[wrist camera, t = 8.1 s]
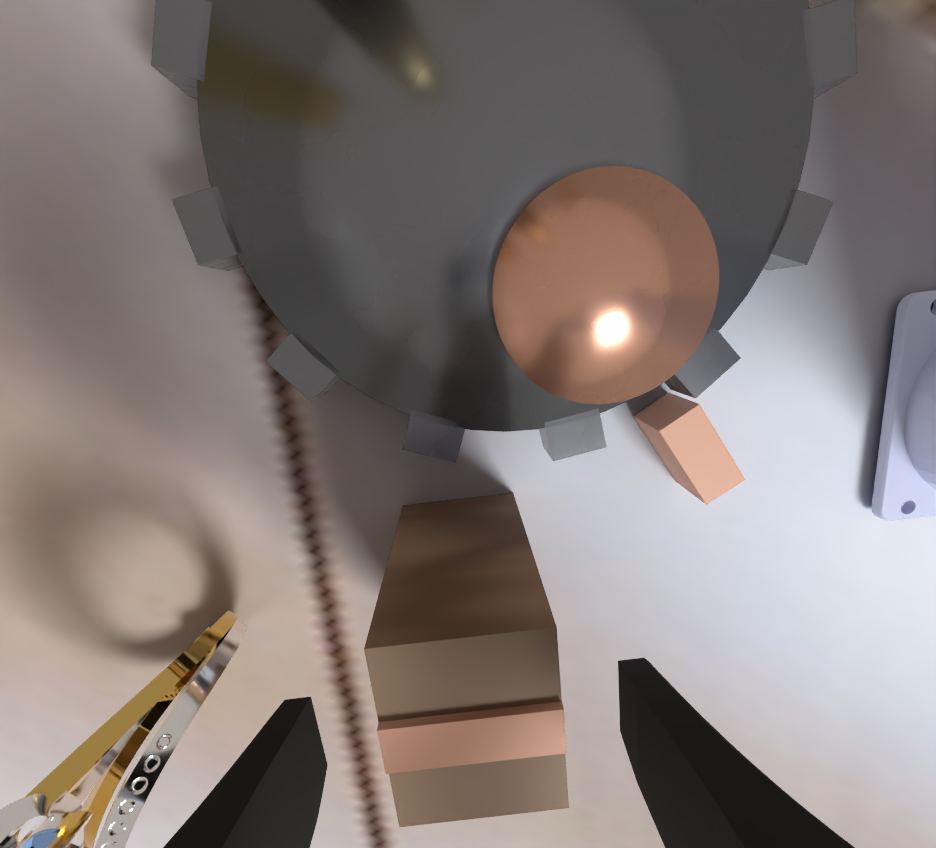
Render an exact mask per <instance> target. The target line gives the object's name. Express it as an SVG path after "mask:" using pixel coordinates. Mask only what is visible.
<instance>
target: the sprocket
mask: <svg viewBox="0 0 936 848" xmlns="http://www.w3.org/2000/svg"><path fill="white" fill-rule="evenodd" d="M151 66H153V67H154V68H155V69H156V70H158V71H159V72H160V73H161V74H162V75H164V76H165V77H166V78H167V79H169V80H170V81H171V82H172V83H173V84H175V85H176V86H177V87H178V88H180V89H181V90H182V91H183V92H185V93H186V94H187V95H188V96H190V97H193V98H197V99H198V108H199V121H200V134H201V140H202V145H203V150H204V155H205V160H206V165H207V171H208V176H209V180H210V184H211V187H212V188H209V189H206V190H202V191H199V192H196V193H192V194H189V195H186V196H182V197H179V198H175V199H172V201H173V204H174V206H175V208H176V211H177V213H178V216H179V218H180V221H181V223H182V226H183V228H184V231H185V233H186V236H187V238H188V241H189V243H190V246H191V248H192V251H193V253H194V256H195V258H196V261H197V263H198V265H200V266H205V267H210V268H216V269H221V270H226V271H229V270H232V269H236V268H239V267H242V266H243V267H244V268H245V270H246V272H247V273H248V275H249V277H250V278H251V280H252V282H253V283H254V285H255V287H256V289H257V290H258V292H259V294H260V295H261V297H262V298H263V299H264V301H265V302H266V303H267V305H268V306H269V307H270V309H271V310H272V311H273V313H274V314H275V315H276V316H277V318H278V319H279V320H280V322H281V323H282V324H283V326H284V327H285V328H286V329H287V330H288V331H289V332H290V334H289V335H288V337H287V338H286V339H285V340H284V341H283V342H282V343H281V345H280V346H279V347H278V348H277V349H276V350H275V351H274V352H273V354H272V355H271V356H270V357H269V358H268V359H267V360H266V362H267V363H268V364H269V365H270V366H272V367H273V368H274V369H275V370H276V371H277V372H278V373H279V374H281V375H282V376H283V377H284V378H285V379H286V380H287V381H289V382H290V383H291V384H292V385H293V386H294V387H295V388H296V389H298V390H299V391H300V392H301V393H302V394H303V395H304V396H305V397H307V398H308V399H309V400H310V401H311V402H312V401H313V400H315V399H317V398H318V397H320V396H321V395H323V394H325V393H326V392H327V391H328V390H329V389H330V388H331V387H332V386H333V385H334V384H335V383H336V382H337V381H338V380H339V378H341V379H342V380H344V381H345V382H347V383H348V384H350V385H352V386H353V387H355V388H356V389H358V390H360V391H361V392H363V393H364V394H366V395H368V396H369V397H371V398H373V399H375V400H377V401H379V402H381V403H383V404H386V405H388V406H390V407H392V408H394V409H396V410H399V411H401V412H403V413H406V414H409V415H410V419H409V423H408V427H407V432H406V436H405V440H404V444H403V448H402V450H407V451H411V452H415V453H419V454H423V455H427V456H431V457H436V458H440V459H444V460H448V461H452V462H456V460H457V457H458V453H459V449H460V445H461V442H462V438H463V434H464V431H465V429H470V430H486V431H519V430H532V429H539V431H540V435H541V439H542V443H543V447H544V448H545V450H546V451H547V453H548V454H549V456H550V457H551V459H552V460H553V461H556V460H559V459H563V458H567V457H571V456H574V455H578V454H582V453H586V452H589V451H593V450H597V449H601V448H605V447H606V443H605V438H604V433H603V428H602V423H601V418H600V413H602V412H605V411H607V410H609V409H611V408H613V407H615V406H617V405H619V404H622V403H624V402H626V401H628V400H630V399H632V398H635V397H638V396H640V395H642V394H645V393H647V392H649V391H651V390H653V389H654V388H656V387H658V386H659V385H661V384H662V383H664V382H665V384H666V385H667V386H668V387H669V388H670V389H671V390H674V391H677V392H680V393H682V394H685V395H688V396H691V397H694V398H697V397H698V396H699V395H700V394H701V393H702V392H703V391H704V390H705V389H707V388H708V387H709V386H710V385H711V384H712V383H713V382H714V381H716V380H717V379H718V378H719V377H720V376H721V375H722V374H723V373H724V372H726V371H727V370H728V369H729V368H730V367H731V366H732V365H733V364H735V363H736V362H737V361H738V360H739V359H740V357H739V356H738V354H737V353H736V352H735V351H734V350H733V349H732V347H731V346H730V345H729V344H728V343H727V341H726V340H725V339H724V338H723V337H722V335H721V334H720V333H719V332H718V331H719V330H720V329H721V328H722V327H723V325H724V324H725V323H726V321H727V320H728V319H729V318H730V316H731V315H732V314H733V312H734V311H735V310H736V309H737V307H738V306H739V305H740V303H741V302H742V301H743V300H744V298H745V297H746V296H747V294H748V293H749V291H750V289H751V288H752V286H753V284H754V283H755V281H756V279H757V278H758V276H759V275H760V273H761V271H762V270H763V269H766V270H772V269H779V268H787V267H794V266H801V265H807V263H808V261H809V258H810V256H811V254H812V251H813V249H814V247H815V244H816V242H817V239H818V237H819V235H820V232H821V230H822V228H823V225H824V223H825V221H826V218H827V216H828V213H829V211H830V209H831V206H832V204H833V202H834V201H830V200H827V199H824V198H821V197H818V196H815V195H812V194H809V193H805V192H802V191H799V190H797V188H798V185H799V182H800V178H801V173H802V169H803V164H804V160H805V155H806V151H807V146H808V142H809V136H810V127H811V117H812V108H813V99H814V98H816V97H818V96H819V95H821V94H823V93H824V92H826V91H828V90H829V89H831V88H833V87H834V86H836V85H838V84H839V83H841V82H843V81H844V80H846V79H848V78H849V77H851V76H853V75H854V74H856V73H857V57H856V33H855V9H854V0H838V1H835V2H831V3H828V4H825V5H821V6H818V7H815V8H811V9H809V3H808V0H156V10H155V23H154V36H153V48H152V61H151Z"/></svg>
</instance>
